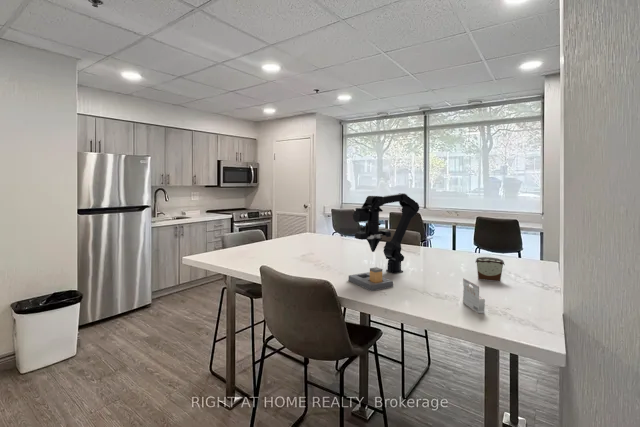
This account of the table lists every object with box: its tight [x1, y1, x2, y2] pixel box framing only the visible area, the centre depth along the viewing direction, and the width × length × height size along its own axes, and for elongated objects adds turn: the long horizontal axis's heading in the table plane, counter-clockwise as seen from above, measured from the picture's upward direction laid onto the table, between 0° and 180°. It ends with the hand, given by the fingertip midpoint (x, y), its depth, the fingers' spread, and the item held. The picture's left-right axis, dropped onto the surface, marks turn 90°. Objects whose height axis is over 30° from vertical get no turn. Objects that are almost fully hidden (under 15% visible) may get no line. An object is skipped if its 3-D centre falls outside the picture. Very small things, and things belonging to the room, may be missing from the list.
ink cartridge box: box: [462, 278, 486, 314], centre depth 121 cm, size 2×11×10 cm, turn 5°
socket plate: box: [348, 271, 394, 292], centre depth 152 cm, size 12×18×2 cm, turn 28°
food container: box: [475, 256, 505, 283], centre depth 158 cm, size 12×6×10 cm, turn 65°
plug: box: [369, 266, 383, 283], centre depth 148 cm, size 4×4×8 cm
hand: (373, 251), depth 166 cm, fingers closed
